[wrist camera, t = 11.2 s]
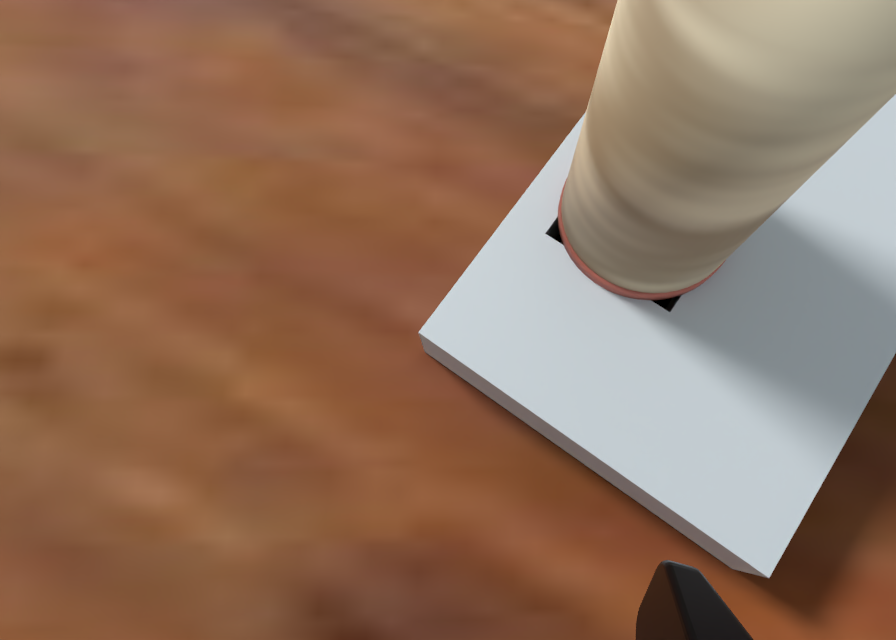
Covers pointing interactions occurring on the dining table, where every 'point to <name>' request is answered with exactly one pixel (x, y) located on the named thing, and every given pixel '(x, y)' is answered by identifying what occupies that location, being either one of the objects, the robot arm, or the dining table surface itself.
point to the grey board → (696, 351)
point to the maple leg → (713, 129)
